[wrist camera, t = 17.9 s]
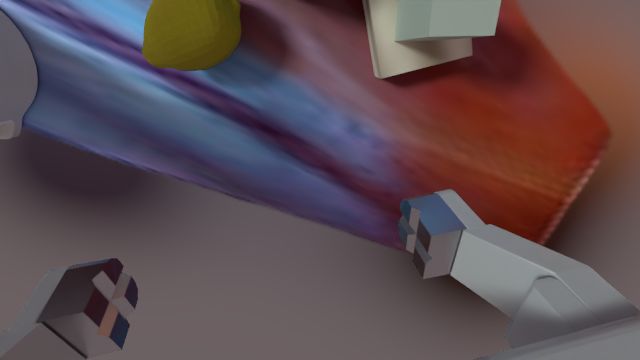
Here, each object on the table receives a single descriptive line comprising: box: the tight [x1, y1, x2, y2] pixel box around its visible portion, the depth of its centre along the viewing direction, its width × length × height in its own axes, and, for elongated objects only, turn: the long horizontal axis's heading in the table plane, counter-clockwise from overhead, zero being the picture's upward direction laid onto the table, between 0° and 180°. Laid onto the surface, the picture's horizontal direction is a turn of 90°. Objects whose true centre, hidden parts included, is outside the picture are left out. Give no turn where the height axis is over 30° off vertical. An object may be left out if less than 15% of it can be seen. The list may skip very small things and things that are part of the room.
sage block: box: [394, 0, 501, 41], centre depth 26 cm, size 5×5×10 cm
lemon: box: [142, 0, 242, 71], centre depth 30 cm, size 11×8×8 cm
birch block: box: [362, 0, 472, 79], centre depth 33 cm, size 10×10×4 cm
